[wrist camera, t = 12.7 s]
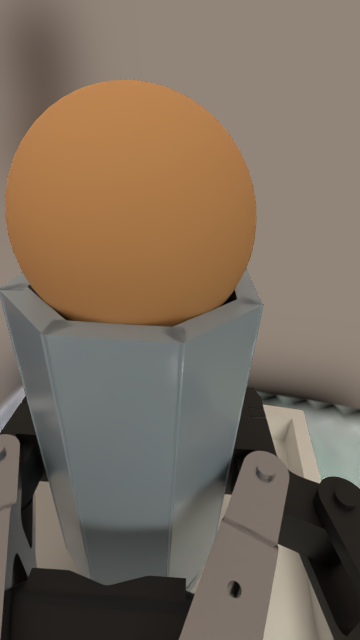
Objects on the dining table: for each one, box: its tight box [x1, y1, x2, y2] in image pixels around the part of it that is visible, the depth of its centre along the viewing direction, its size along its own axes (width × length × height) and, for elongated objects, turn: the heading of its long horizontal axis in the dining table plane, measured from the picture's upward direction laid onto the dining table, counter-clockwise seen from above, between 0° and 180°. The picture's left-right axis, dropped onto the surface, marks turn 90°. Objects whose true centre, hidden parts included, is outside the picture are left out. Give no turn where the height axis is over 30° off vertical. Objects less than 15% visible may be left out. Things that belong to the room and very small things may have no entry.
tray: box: [35, 405, 334, 640], centre depth 14 cm, size 16×16×3 cm
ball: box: [5, 80, 256, 327], centre depth 7 cm, size 5×5×5 cm
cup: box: [0, 268, 263, 592], centre depth 10 cm, size 6×6×12 cm
